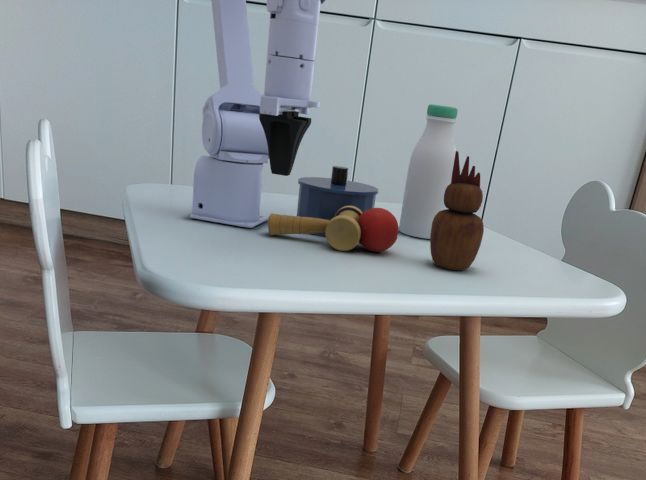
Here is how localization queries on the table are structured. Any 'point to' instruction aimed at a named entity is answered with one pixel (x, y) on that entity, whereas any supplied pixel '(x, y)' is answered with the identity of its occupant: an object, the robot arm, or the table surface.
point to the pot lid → (338, 183)
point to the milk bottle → (429, 172)
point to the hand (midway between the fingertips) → (280, 174)
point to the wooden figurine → (458, 221)
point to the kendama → (343, 228)
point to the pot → (329, 203)
